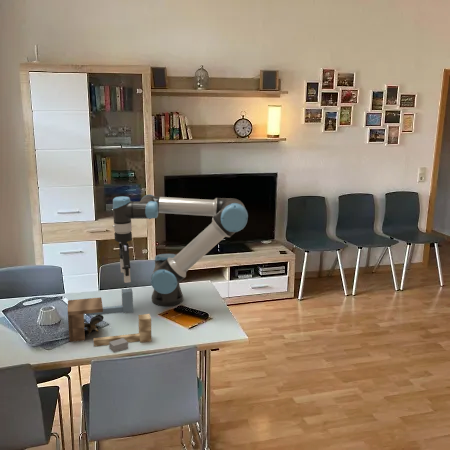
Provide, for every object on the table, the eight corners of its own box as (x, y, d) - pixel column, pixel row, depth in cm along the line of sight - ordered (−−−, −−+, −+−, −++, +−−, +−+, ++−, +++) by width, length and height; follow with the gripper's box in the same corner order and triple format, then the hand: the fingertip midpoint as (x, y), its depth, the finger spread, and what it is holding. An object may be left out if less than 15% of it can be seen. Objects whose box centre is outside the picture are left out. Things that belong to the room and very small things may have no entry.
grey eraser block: (123, 344, 197) (123, 337, 197) (128, 348, 194) (127, 341, 194) (109, 348, 194) (109, 341, 193) (113, 353, 191) (113, 346, 190)
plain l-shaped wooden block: (149, 336, 205) (149, 313, 202) (151, 341, 200) (151, 318, 198) (93, 342, 198) (92, 319, 196) (94, 347, 194) (92, 324, 192)
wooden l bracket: (102, 325, 213) (101, 297, 210) (104, 338, 202) (102, 308, 199) (69, 328, 209) (67, 300, 206) (69, 342, 198) (67, 311, 195)
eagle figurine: (101, 333, 204) (108, 320, 212) (90, 320, 201) (97, 308, 209) (87, 340, 206) (94, 327, 214) (76, 328, 204) (84, 315, 212)
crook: (132, 308, 231) (131, 288, 229) (135, 319, 220) (134, 298, 217) (81, 313, 225) (80, 292, 222) (82, 324, 214) (81, 303, 211)
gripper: (111, 225, 229) (114, 269, 234) (117, 239, 206) (120, 287, 211) (128, 224, 231) (130, 267, 237) (135, 238, 208) (137, 285, 213)
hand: (125, 277), depth 224 cm, fingers open, 13 cm apart
